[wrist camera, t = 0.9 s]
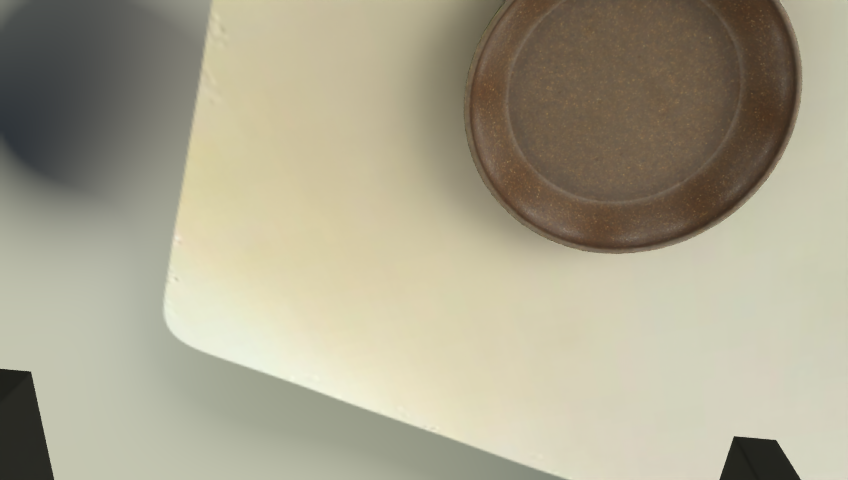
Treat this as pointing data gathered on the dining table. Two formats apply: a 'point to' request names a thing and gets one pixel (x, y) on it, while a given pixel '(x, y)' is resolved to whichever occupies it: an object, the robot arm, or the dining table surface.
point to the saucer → (630, 114)
